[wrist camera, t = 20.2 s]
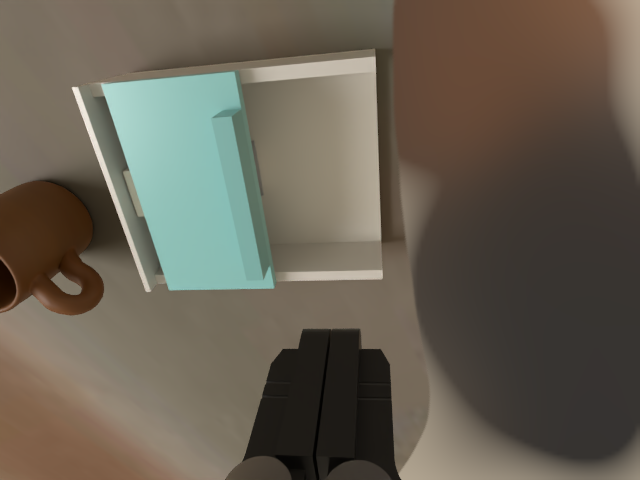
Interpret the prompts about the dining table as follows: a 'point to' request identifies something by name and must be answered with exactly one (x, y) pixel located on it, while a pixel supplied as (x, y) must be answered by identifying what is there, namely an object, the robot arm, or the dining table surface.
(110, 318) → the dining table surface
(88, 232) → the mug
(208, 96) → the teal lid
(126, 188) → the grey housing
